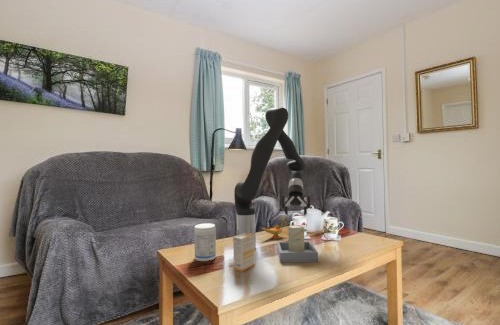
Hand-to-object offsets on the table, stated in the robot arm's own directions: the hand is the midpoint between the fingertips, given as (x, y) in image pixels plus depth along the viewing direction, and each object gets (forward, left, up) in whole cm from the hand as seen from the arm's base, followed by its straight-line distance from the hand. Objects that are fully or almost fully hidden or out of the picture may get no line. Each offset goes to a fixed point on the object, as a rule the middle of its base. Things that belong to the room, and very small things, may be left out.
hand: (295, 214), depth 131 cm
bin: (-1, -9, -17) cm, 19 cm away
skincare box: (-1, -9, -16) cm, 18 cm away
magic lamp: (-10, +21, -17) cm, 29 cm away
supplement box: (-24, -22, -17) cm, 37 cm away
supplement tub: (-42, -11, -17) cm, 47 cm away
